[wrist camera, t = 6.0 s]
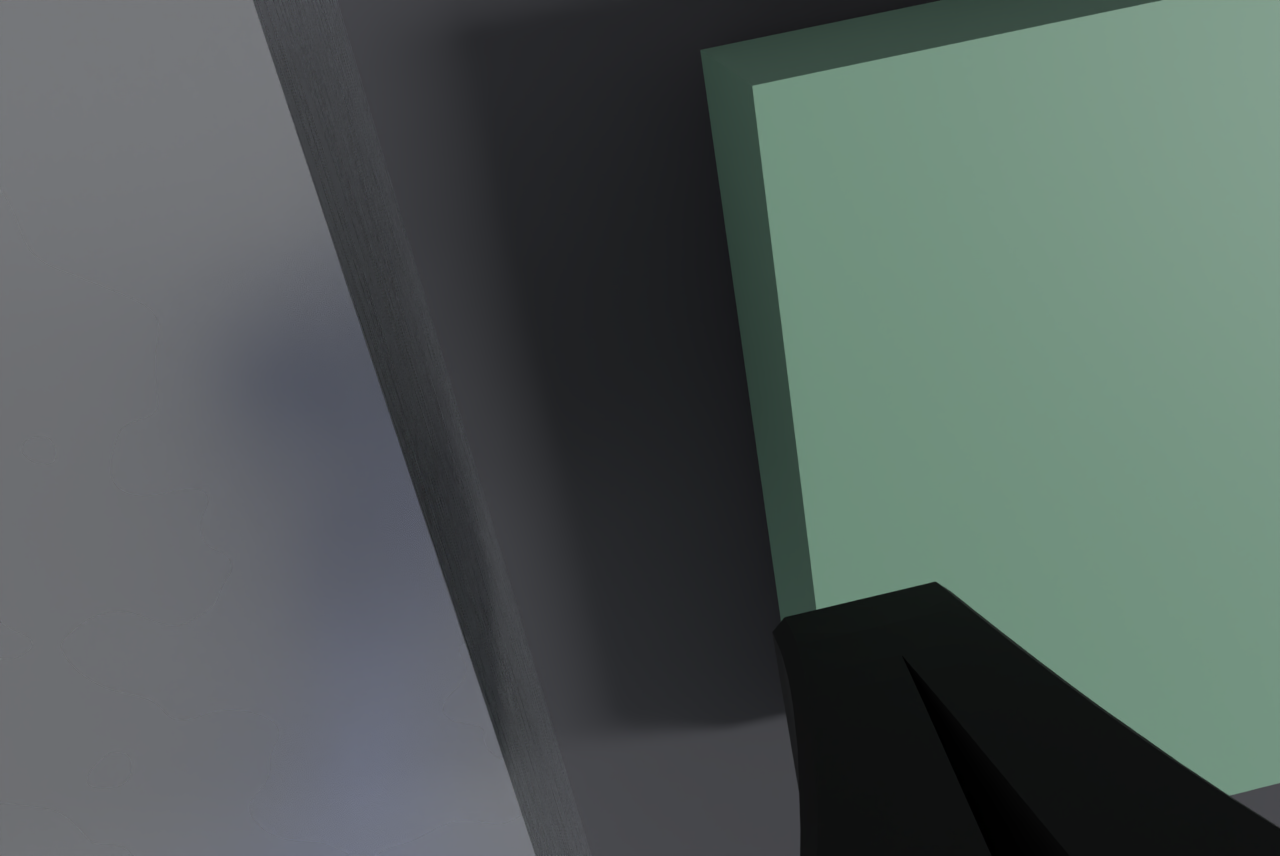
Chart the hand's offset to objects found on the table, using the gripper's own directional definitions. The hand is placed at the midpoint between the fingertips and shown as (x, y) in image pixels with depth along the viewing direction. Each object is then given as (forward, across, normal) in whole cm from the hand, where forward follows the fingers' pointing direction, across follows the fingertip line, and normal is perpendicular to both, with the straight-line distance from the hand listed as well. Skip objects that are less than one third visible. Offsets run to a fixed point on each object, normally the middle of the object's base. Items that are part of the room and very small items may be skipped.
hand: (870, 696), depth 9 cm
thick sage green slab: (+2, -3, 0) cm, 4 cm away
